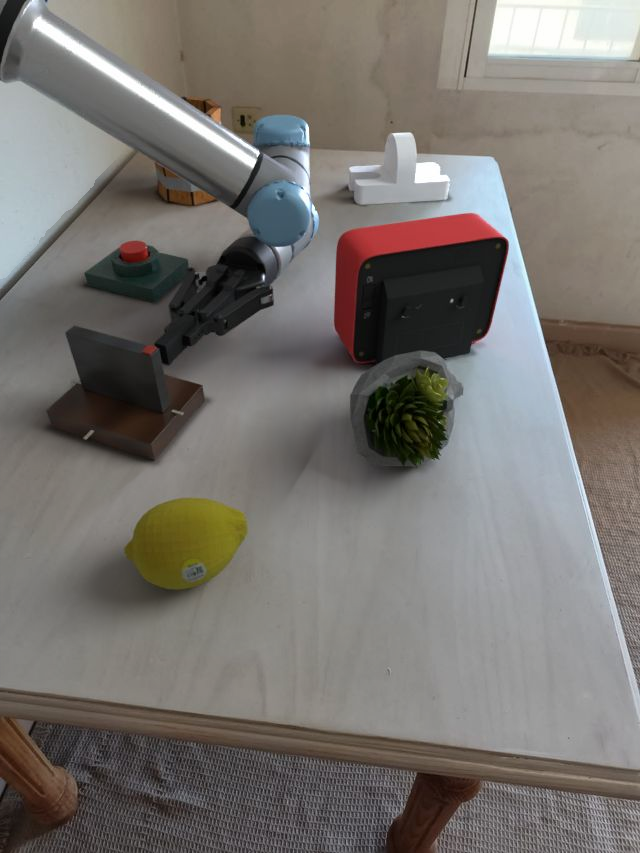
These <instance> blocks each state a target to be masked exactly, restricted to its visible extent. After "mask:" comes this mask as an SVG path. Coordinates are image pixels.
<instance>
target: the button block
mask: <svg viewBox="0 0 640 853" xmlns="http://www.w3.org/2000/svg"><path fill="white" fill-rule="evenodd" d="M146 245H147V250H148V255H149V256H148V258H147V259H146V260H143V261H140V262H130V263H129V262H125V261H123V260H122V258H121V254H120V249H119V248H120V246H119V247H118V248H116V249H115V250H113V251H112V252H111V253H109V254H108V255H106V256H105V257H104V258H103V259H100V261H98V262H97V263H95V264H94V265H93V266H91V267H90V268H88V269H87V270H86V271H85V272H84V273H83V274H84V278H85V281H86V285H87V287H91V288H95V289H99V290H103V291H108V292H111V293H115V294H119V295H123V296H127V297H132V298H135V299H140V300H143V301H148V302H152V303H156V302H157V301H158V300H159V299H160V298H161V297H162V296H163V295H165V294H166V293H167V292H168V291H169V290H170V289H172V288H173V287H174V286H175V285H176V284H177V283H179V281H181V280H182V279H184V278H185V277H186V272H185V269H186V268H189V267H190V264H189V258H185V257H181V256H177V255H172V254H168V253H164V252H160V251H159V250H158V249H156V248H155V247H154V246H153V245H148V244H146Z"/></svg>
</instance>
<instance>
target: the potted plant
mask: <svg viewBox="0 0 640 853" xmlns="http://www.w3.org/2000/svg"><path fill="white" fill-rule="evenodd" d="M463 395H464V386H463V383H461V381H459V380H458V379H457V378H456V376H455V375H454V374H453V373H452V371H450V369H448V366H447V364H446V362H445V358H442V357H440V356H439V355H438V354H436V353H435V352H429V351H421V350H420V351H415V352H410V353H405V354H400V355H395V356H393V357H390V358H388V359H386V360H384V361H382V362H381V363H379V364H375V365H374V366H372V367H370V368H369V369H368V370H366V371H364V372H363V373H361V374H360V376H359V377H358V380H357V381H356V383H355V384H354V387H353V389H352V391H351V393H350V394H349V419H350V424H351V428H352V433H353V437H354V441H355V444H356V450H357V452H358V455H359V456H361V457H362V458H364V459H365V460H367V461H369V462H370V463H372V464H373V465H375V466H377V467H403V468H405V467H414V468H416V469H417V470H418V469H419V468H418V466H423V464H424V463H426V462H427V461H428V460H434V461H436V460H438V461H440V460H441V459H440V457H442V454H441V452H440V451H442V450H444V448H446V447H447V446H448V444H449V441H450V438H451V434H452V431H453V428H454V423H455V422H454V421H455V414H456V413H455V412H456V411H455V401H456V400H457V399H458V398H460V397H462V396H463ZM439 456H440V457H439Z"/></svg>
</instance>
